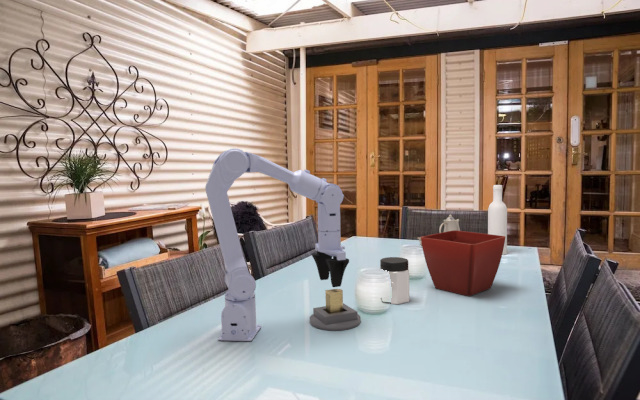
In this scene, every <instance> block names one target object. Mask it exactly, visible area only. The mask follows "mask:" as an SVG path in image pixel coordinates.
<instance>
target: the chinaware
mask: <svg viewBox="0 0 640 400" xmlns="http://www.w3.org/2000/svg"><path fill="white" fill-rule="evenodd" d="M459 222H460V218H457V219H456V218H454V217H453V215H452V214H449V215H448V217H446V218H445V219H443V222H442V223H441V224H440V225H439V229H438V230H439V231H438V233H442V229H443V232H447V231H453V230H457V231H461V229H460V224H459ZM443 226H444V228H443ZM421 237H423V235H422V236H420V237H419V236H418V237H417V240H418V241H419V246H420V245H421V247H422V243H421Z"/></svg>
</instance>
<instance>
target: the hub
mask: <svg viewBox="0 0 640 400" xmlns="http://www.w3.org/2000/svg"><path fill="white" fill-rule="evenodd" d="M312 310H313V311H312V312H313V313H312V314H311V315H310V316H309V324H310V325H311V326H312V327H313V328H316V329H318V330H322V331H330V332H333V331H335V332H337V331H341V332H342V331H348V330H351V329H354V328H357V327H358V326H359V325H360V324H361V315H360V314H359V313H358V311H357V310H356V309H354V308H352V307H351V306H348V305H347V304H346V303H344V302H343V312H338V313H332V314H329V313H327V312H326V305H325V306H319V307H318V306H317V307H313V308H312Z"/></svg>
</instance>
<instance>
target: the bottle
mask: <svg viewBox="0 0 640 400" xmlns="http://www.w3.org/2000/svg"><path fill="white" fill-rule="evenodd" d="M492 191H493V192H492V194H493V195H492V201H491V203H489V206H488V208H487V234H491V235H499V236H505V243H504V248H503V253H502V256H506V255H507V253H508V207H507V205H506V203H505V202H504V201H503V185H502V184H494V185H492Z"/></svg>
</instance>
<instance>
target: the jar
mask: <svg viewBox="0 0 640 400" xmlns="http://www.w3.org/2000/svg"><path fill="white" fill-rule="evenodd" d="M379 261H380V262H379V263H380V267H379V270H380V269H383V270H384V271H385V270H387V272H388V271H389V274H390V279H391V287H392V298H391V304H392V305H402V304H406V303H409V302H410V269H409V259H407V258H405V257H400V256H399V257H397V256H392V257H391V256H390V257H389V256H388V257H382V258H381V259H380V260H379Z"/></svg>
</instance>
